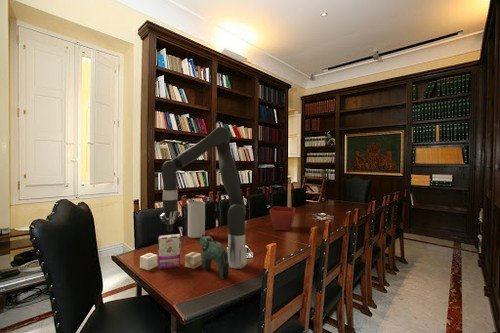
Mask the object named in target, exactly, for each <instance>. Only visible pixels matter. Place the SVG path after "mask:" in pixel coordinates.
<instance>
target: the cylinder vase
mask: <svg viewBox="0 0 500 333" xmlns="http://www.w3.org/2000/svg"><path fill="white" fill-rule="evenodd" d="M205 225H206V202H205V201H201V200H200V201H199V200H197V201H196V200H195V201H188V202H187V236H188V237H189V238H190V239H191V238H192V239H200V238H201V237H202V234H203V235H204V236H206V234H205V233H206V231H205V228H206V226H205Z"/></svg>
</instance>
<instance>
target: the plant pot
mask: <svg viewBox="0 0 500 333" xmlns="http://www.w3.org/2000/svg"><path fill="white" fill-rule="evenodd" d="M295 214H296V207H290V206H273V207H272V208H270V209H269V216H270V220H271V224H272V227H273V230H274V231H283V232H284V231H286V232H289V231H290V230H291V229H292V226H293V223H294V219H295Z"/></svg>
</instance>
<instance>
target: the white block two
mask: <svg viewBox="0 0 500 333" xmlns="http://www.w3.org/2000/svg"><path fill="white" fill-rule="evenodd" d="M156 267H158V254H155V253H152V252H149V253H148V252H147V253H146V254H143V255H141V256H139V268H140V269H143V270H145V271H150V270H152V269H155V268H156Z"/></svg>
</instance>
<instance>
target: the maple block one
mask: <svg viewBox="0 0 500 333" xmlns="http://www.w3.org/2000/svg"><path fill="white" fill-rule="evenodd" d="M200 266H202V253H199V252H195V251H191V252H189V253H187V254H184V268H185V267H186V268H190V269H196V268H198V267H200Z"/></svg>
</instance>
